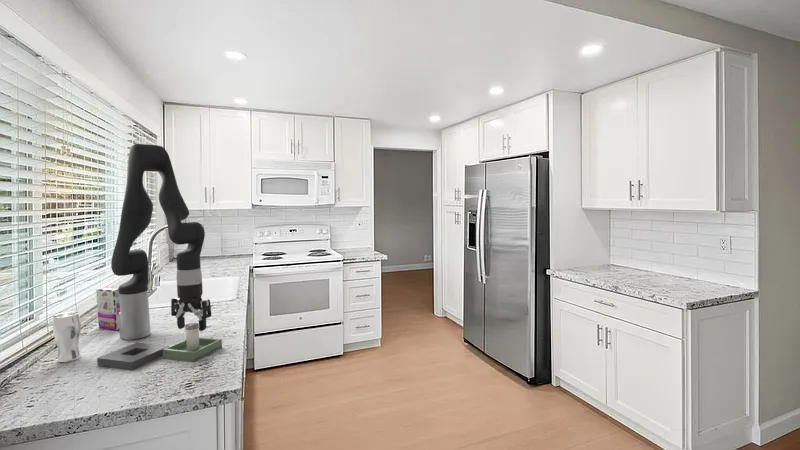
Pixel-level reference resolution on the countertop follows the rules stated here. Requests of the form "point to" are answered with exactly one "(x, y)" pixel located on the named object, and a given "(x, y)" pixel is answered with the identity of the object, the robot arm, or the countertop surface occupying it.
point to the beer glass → (67, 336)
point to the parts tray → (180, 351)
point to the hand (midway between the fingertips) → (191, 329)
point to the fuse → (192, 337)
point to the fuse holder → (132, 356)
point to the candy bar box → (108, 308)
